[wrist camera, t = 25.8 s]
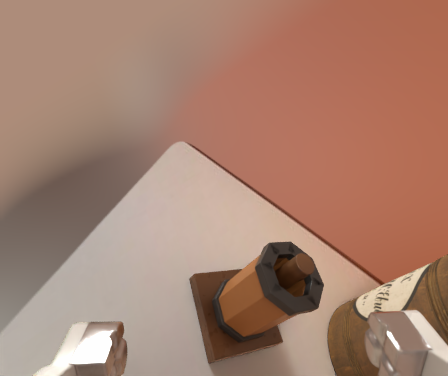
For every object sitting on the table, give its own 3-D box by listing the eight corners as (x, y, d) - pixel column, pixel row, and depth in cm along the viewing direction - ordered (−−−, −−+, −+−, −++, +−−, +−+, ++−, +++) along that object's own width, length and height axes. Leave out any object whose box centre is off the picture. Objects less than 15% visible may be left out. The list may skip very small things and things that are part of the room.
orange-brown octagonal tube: (207, 284, 37) (253, 243, 30) (254, 278, 40) (304, 240, 34) (222, 346, 34) (278, 316, 27) (272, 334, 37) (333, 305, 30)
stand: (189, 278, 38) (248, 219, 29) (251, 272, 43) (319, 219, 34) (208, 363, 33) (286, 324, 24) (275, 345, 38) (362, 307, 29)
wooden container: (375, 296, 51) (529, 226, 36) (433, 405, 44) (655, 373, 29) (308, 312, 43) (469, 230, 28) (365, 448, 36) (623, 436, 21)
